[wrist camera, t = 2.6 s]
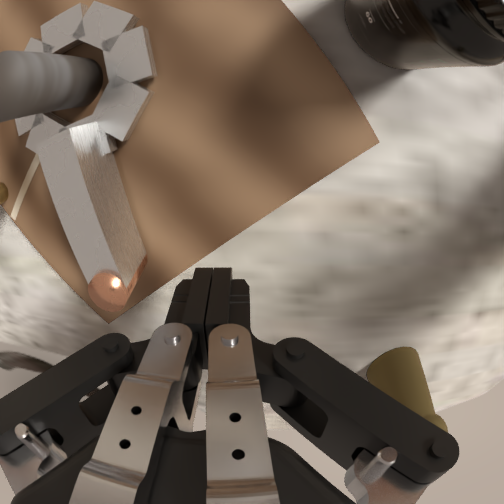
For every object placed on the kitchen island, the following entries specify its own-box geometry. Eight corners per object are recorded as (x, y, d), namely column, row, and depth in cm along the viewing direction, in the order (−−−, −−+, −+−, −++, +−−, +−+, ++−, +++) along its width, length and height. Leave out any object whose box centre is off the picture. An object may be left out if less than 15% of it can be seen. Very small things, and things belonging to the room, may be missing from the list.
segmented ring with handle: (13, 52, 12) (-30, 52, 8) (139, -17, 11) (110, -43, 7) (82, 281, 20) (55, 317, 16) (205, 259, 19) (195, 301, 16)
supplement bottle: (332, -24, 12) (416, -119, 2) (422, -12, 12) (540, -53, 1) (352, 69, 15) (481, 49, 5) (440, 73, 15) (580, 86, 4)
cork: (414, 374, 29) (446, 453, 19) (365, 389, 30) (389, 474, 20) (421, 339, 26) (464, 426, 16) (367, 356, 27) (399, 453, 17)
